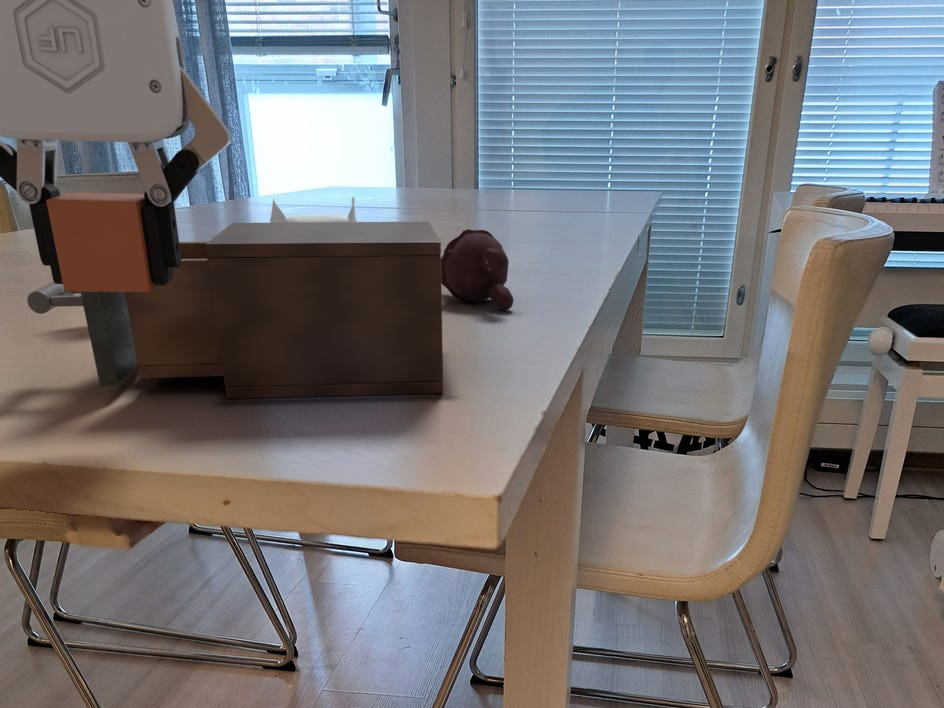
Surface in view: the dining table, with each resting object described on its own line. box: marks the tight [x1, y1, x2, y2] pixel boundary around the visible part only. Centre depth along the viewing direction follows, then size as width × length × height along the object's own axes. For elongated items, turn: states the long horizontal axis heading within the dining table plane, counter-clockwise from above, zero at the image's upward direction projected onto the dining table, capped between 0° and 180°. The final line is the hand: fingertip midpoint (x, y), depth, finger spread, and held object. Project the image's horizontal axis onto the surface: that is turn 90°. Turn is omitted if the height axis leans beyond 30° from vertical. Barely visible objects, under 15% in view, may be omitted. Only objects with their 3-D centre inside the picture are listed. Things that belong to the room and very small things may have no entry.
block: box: [46, 191, 157, 292], centre depth 50 cm, size 4×4×4 cm
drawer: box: [26, 241, 224, 387], centre depth 63 cm, size 18×11×8 cm, turn 96°
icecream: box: [441, 228, 514, 312], centre depth 91 cm, size 7×7×15 cm
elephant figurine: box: [269, 196, 358, 223], centre depth 97 cm, size 10×12×9 cm
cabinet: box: [205, 221, 444, 400], centre depth 64 cm, size 15×13×10 cm
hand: (115, 277), depth 51 cm, fingers closed on block, 4 cm apart
